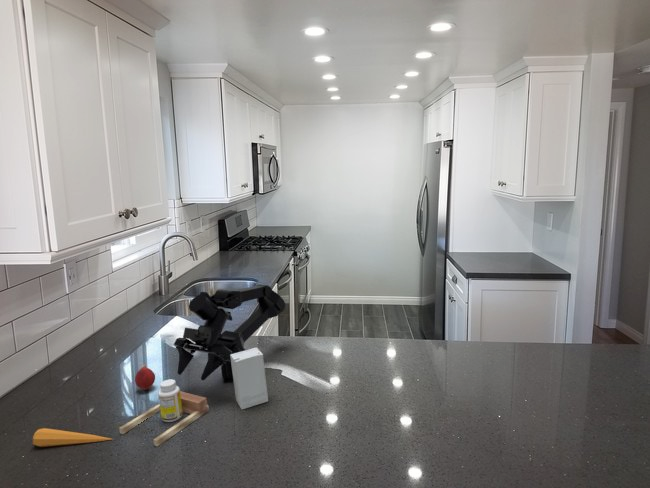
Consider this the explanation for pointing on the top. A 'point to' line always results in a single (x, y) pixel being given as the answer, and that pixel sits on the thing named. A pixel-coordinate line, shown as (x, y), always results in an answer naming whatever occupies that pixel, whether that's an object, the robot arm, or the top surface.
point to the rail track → (189, 405)
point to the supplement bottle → (170, 401)
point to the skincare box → (249, 378)
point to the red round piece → (144, 378)
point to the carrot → (63, 438)
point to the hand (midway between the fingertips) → (190, 377)
